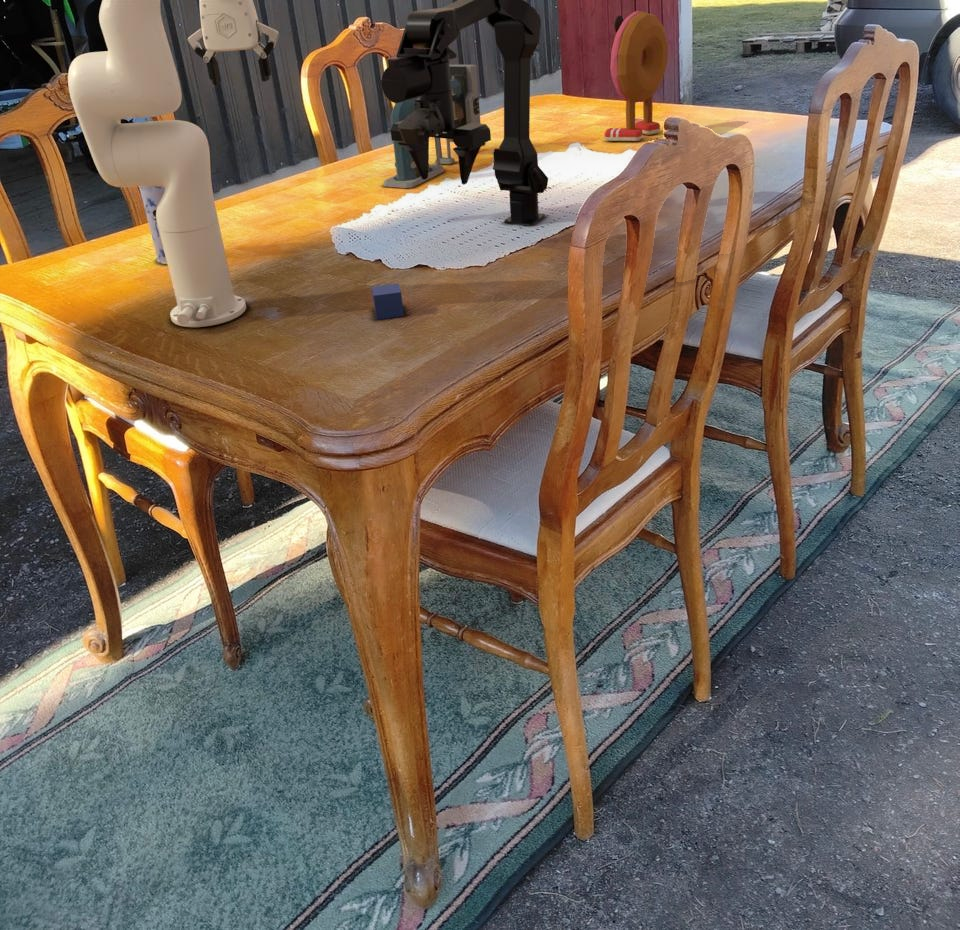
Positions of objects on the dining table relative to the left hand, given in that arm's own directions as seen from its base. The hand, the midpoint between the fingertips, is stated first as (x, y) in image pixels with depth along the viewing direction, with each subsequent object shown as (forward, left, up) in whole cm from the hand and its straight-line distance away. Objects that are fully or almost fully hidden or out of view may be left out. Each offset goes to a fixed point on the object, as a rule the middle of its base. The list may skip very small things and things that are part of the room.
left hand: (241, 81), depth 185 cm
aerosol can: (-10, +17, -31) cm, 36 cm away
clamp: (+48, -31, -31) cm, 65 cm away
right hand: (-19, -39, -17) cm, 46 cm away
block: (-47, -30, -31) cm, 63 cm away
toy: (+68, -83, -31) cm, 112 cm away
